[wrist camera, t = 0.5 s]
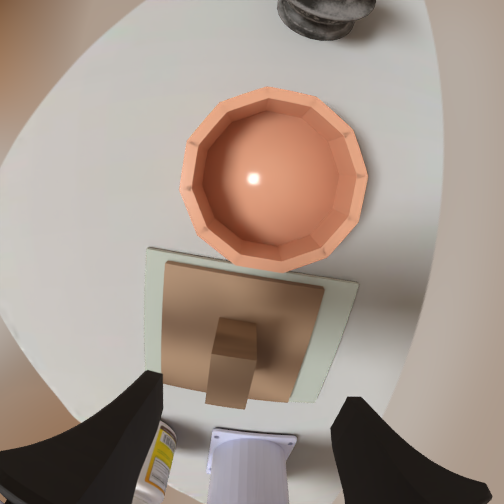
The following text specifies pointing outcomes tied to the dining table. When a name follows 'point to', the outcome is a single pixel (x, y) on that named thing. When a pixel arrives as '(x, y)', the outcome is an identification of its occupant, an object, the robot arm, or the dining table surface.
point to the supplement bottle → (156, 467)
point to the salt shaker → (323, 16)
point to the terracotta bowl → (273, 179)
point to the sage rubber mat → (335, 295)
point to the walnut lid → (234, 333)
